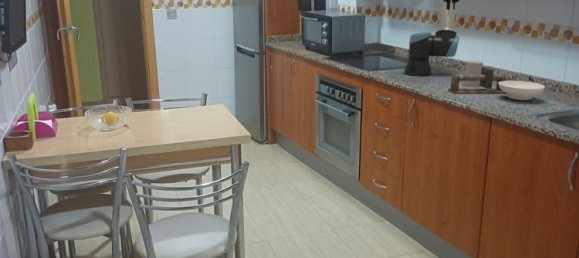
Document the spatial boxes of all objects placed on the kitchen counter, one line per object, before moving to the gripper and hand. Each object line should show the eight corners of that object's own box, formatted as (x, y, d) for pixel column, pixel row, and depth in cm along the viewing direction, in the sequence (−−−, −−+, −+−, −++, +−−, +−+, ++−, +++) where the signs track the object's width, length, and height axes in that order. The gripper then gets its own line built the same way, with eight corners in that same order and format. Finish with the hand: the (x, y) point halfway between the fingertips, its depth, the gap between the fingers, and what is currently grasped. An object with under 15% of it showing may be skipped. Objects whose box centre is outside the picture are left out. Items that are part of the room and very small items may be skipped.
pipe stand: (454, 93, 256) (456, 75, 254) (448, 90, 264) (449, 72, 261) (506, 93, 258) (509, 75, 256) (499, 90, 266) (501, 73, 264)
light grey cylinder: (481, 86, 274) (483, 63, 271) (464, 86, 276) (466, 62, 272) (478, 84, 282) (481, 61, 278) (462, 83, 283) (465, 60, 280)
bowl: (519, 105, 234) (521, 90, 233) (487, 96, 252) (489, 82, 250) (552, 102, 242) (554, 87, 240) (518, 93, 259) (520, 79, 257)
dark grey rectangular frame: (486, 88, 257) (488, 69, 254) (479, 85, 264) (481, 67, 262) (491, 88, 257) (493, 69, 254) (484, 85, 265) (486, 67, 262)
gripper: (444, -33, 260) (439, 16, 267) (470, -33, 262) (465, 17, 268) (438, -33, 268) (434, 15, 274) (464, -33, 269) (459, 16, 275)
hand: (449, 16), depth 271 cm, fingers closed
